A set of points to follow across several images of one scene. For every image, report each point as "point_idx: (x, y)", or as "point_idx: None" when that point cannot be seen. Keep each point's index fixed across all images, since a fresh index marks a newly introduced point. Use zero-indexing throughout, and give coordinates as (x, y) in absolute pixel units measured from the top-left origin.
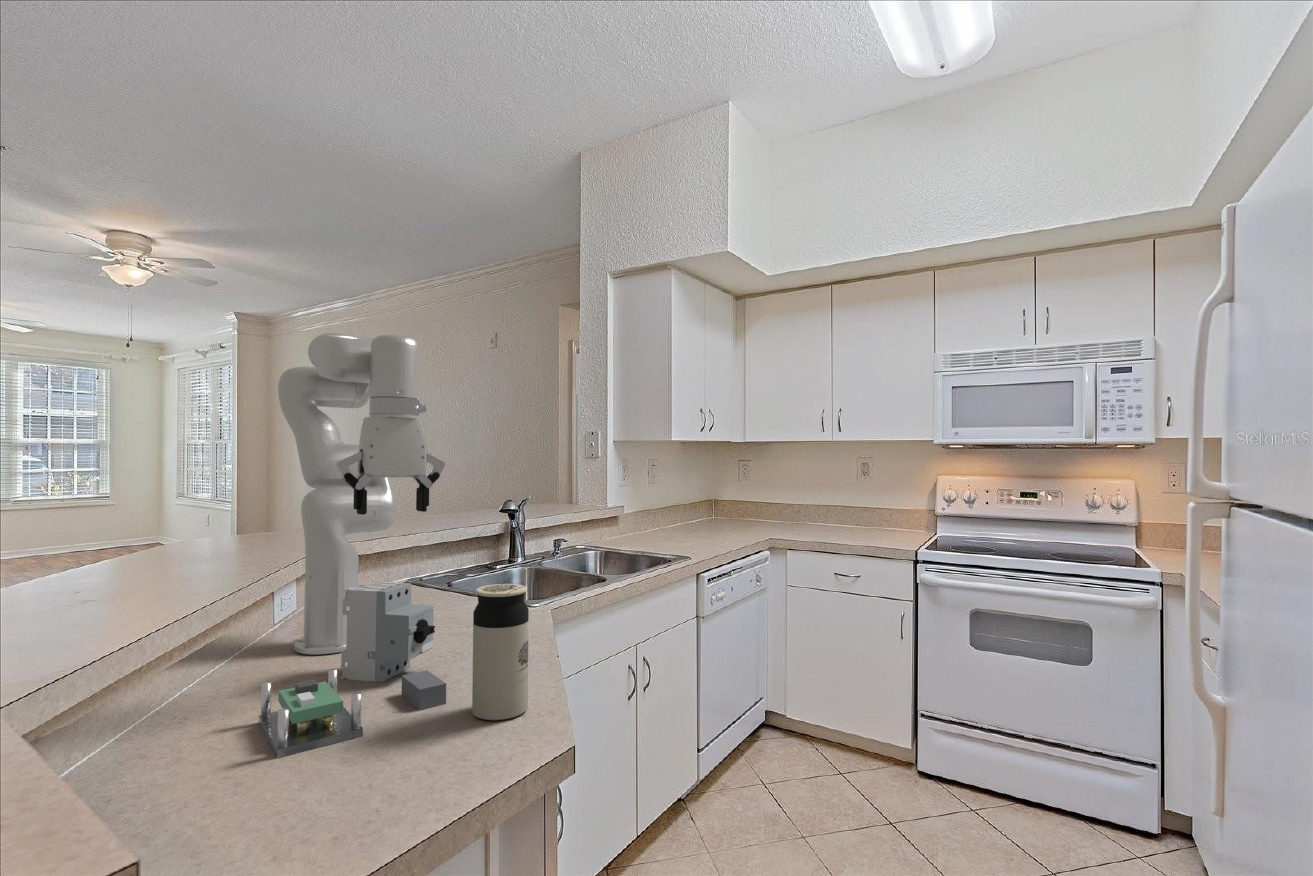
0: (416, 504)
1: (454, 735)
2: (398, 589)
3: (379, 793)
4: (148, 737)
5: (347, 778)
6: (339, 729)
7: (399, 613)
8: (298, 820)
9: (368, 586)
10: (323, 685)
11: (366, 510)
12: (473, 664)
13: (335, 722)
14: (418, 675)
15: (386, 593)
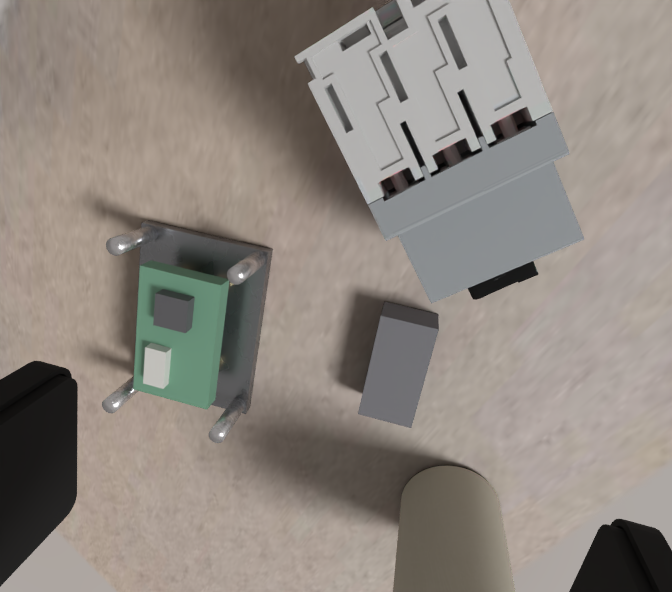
0: (624, 575)
1: (342, 509)
2: (468, 201)
3: (200, 547)
4: (6, 137)
5: (188, 494)
6: (218, 389)
7: (429, 253)
8: (124, 526)
9: (399, 66)
10: (209, 306)
11: (55, 525)
12: (399, 554)
13: (223, 360)
14: (404, 343)
15: (391, 237)
